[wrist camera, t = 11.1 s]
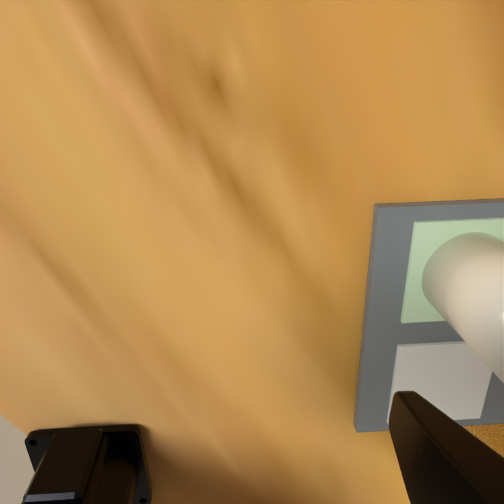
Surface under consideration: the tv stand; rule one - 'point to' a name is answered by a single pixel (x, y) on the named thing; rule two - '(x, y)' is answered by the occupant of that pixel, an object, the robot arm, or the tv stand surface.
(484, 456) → the robot arm
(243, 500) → the tv stand surface
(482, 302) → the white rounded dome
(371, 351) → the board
